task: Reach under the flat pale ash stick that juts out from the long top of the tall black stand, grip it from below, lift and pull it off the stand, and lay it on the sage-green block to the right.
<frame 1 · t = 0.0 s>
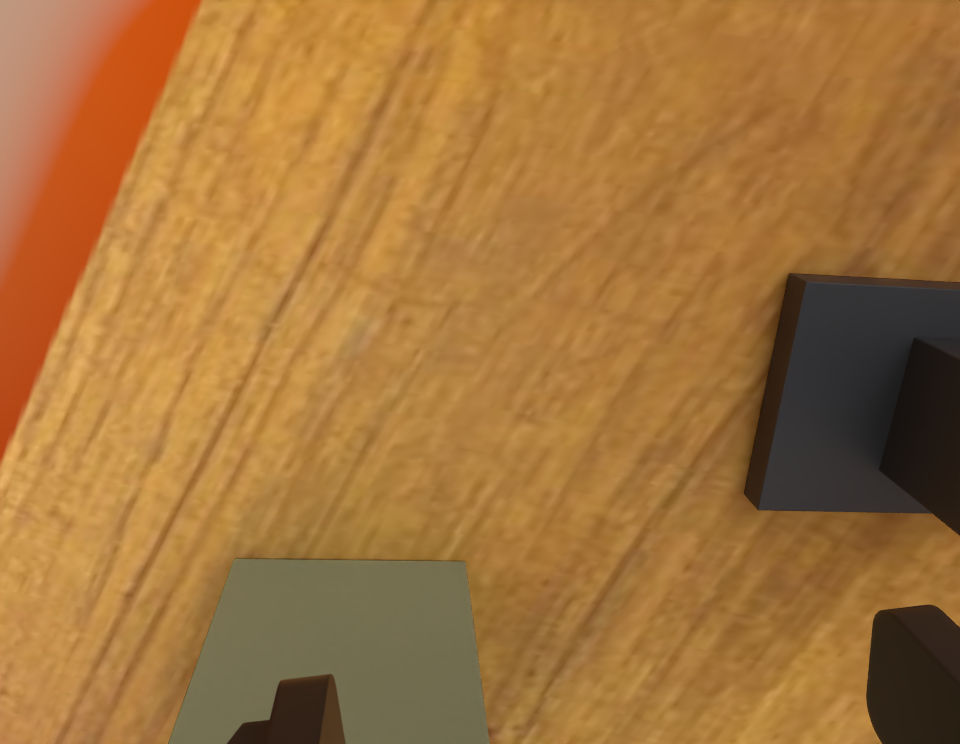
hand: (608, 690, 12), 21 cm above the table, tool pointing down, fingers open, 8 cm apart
stand: (940, 395, 35), on the table
green block: (349, 653, 36), on the table
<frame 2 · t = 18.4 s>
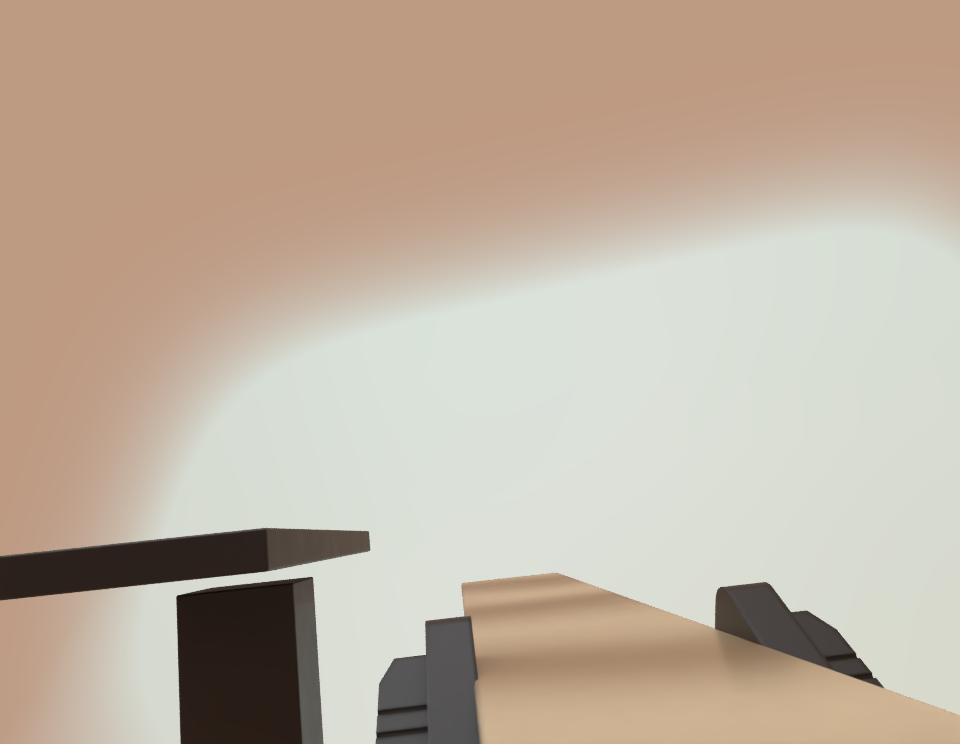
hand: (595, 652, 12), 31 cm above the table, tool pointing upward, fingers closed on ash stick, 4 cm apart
ash stick: (565, 742, 18), point 28 cm above the table, touching gripper
when the fingers open (24 cm above the table, at t = 20.7 s): ash stick stays where it is, resting on green block.
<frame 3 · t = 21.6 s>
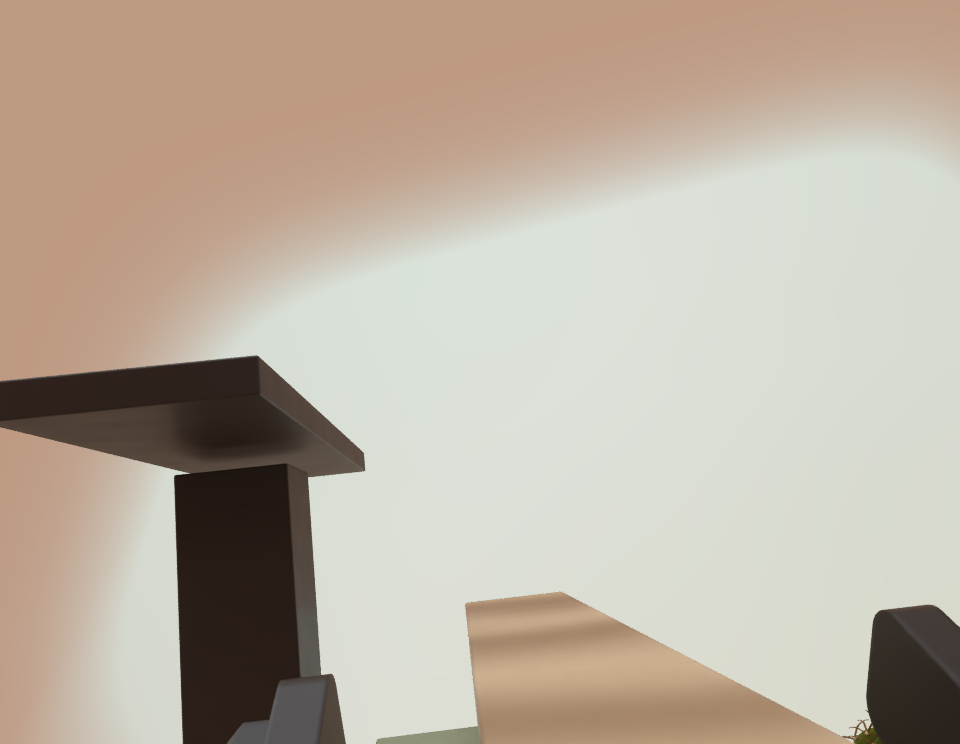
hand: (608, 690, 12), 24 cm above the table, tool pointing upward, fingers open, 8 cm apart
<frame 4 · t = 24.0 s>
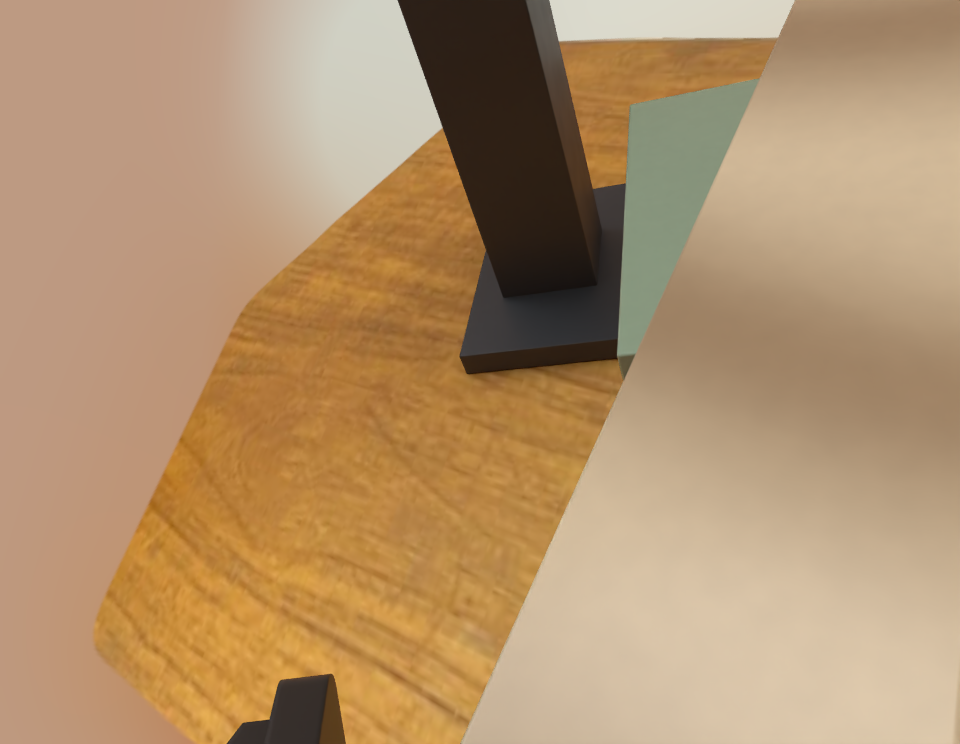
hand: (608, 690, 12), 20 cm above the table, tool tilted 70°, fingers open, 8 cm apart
stand: (558, 280, 52), on the table
green block: (848, 643, 30), on the table
ash stick: (878, 187, 16), point 21 cm above the table, touching green block
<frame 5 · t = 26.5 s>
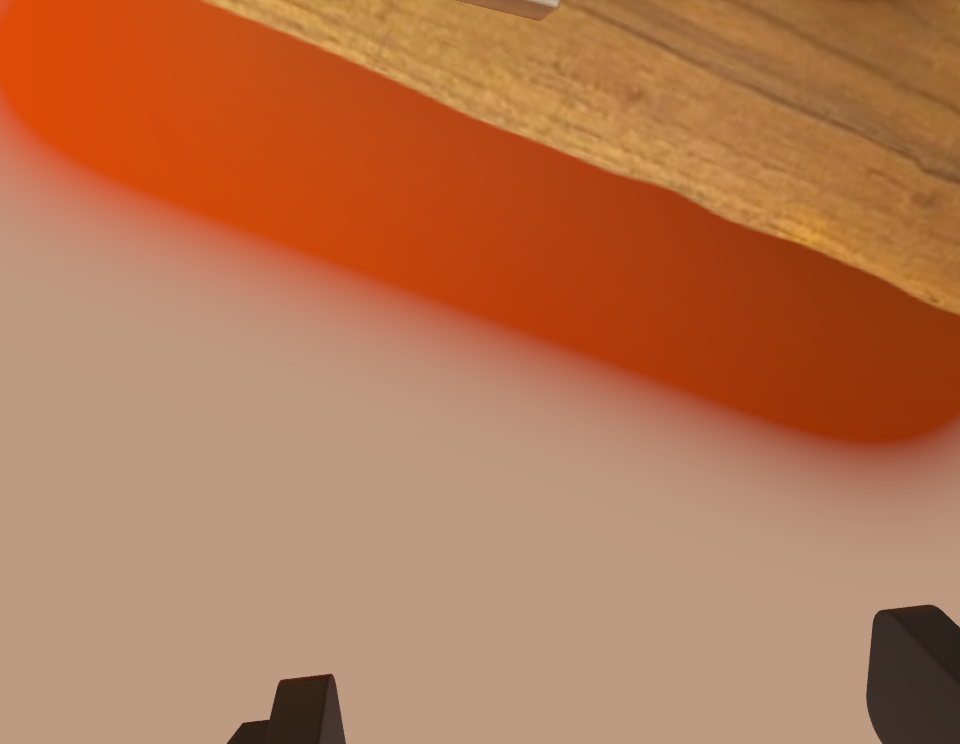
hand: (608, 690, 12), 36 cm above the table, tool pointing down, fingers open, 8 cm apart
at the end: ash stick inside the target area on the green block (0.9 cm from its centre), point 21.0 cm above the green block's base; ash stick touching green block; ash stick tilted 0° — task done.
